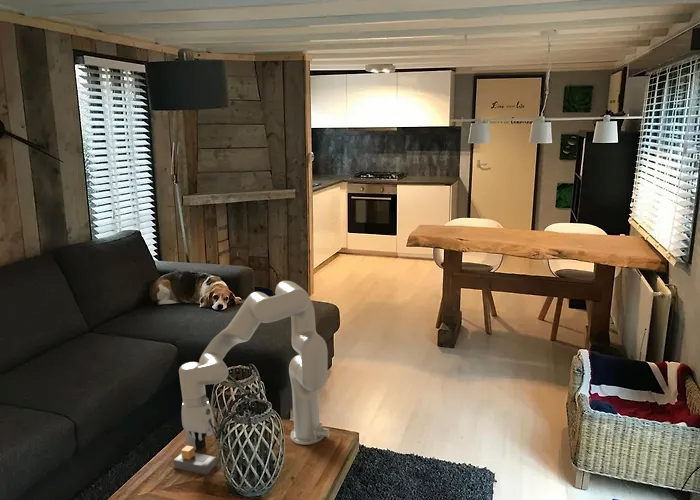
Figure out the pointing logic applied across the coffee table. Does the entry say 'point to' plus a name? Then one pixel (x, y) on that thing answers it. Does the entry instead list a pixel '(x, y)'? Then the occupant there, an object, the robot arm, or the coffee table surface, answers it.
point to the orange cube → (188, 452)
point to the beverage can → (189, 440)
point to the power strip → (196, 463)
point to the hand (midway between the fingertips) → (201, 448)
